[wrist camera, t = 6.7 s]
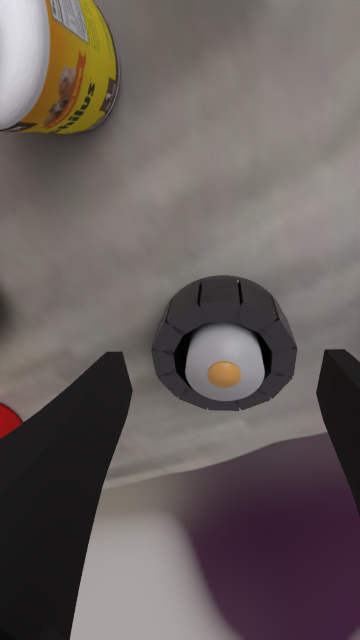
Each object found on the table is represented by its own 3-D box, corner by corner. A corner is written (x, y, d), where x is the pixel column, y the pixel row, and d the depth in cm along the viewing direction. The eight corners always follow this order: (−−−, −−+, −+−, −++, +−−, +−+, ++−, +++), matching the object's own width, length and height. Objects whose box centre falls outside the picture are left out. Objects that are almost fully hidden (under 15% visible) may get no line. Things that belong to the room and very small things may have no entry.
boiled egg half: (258, 306, 19) (267, 344, 16) (255, 361, 22) (262, 404, 18) (188, 308, 20) (181, 344, 16) (193, 361, 23) (188, 402, 19)
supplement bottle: (53, 150, 16) (-132, 164, 8) (-10, 22, 14) (-401, -176, 5) (142, 109, 15) (34, 69, 6) (90, -45, 12) (-225, -489, 4)
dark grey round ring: (290, 272, 18) (304, 298, 15) (279, 375, 23) (288, 411, 20) (154, 278, 20) (142, 304, 17) (170, 375, 24) (163, 409, 21)
